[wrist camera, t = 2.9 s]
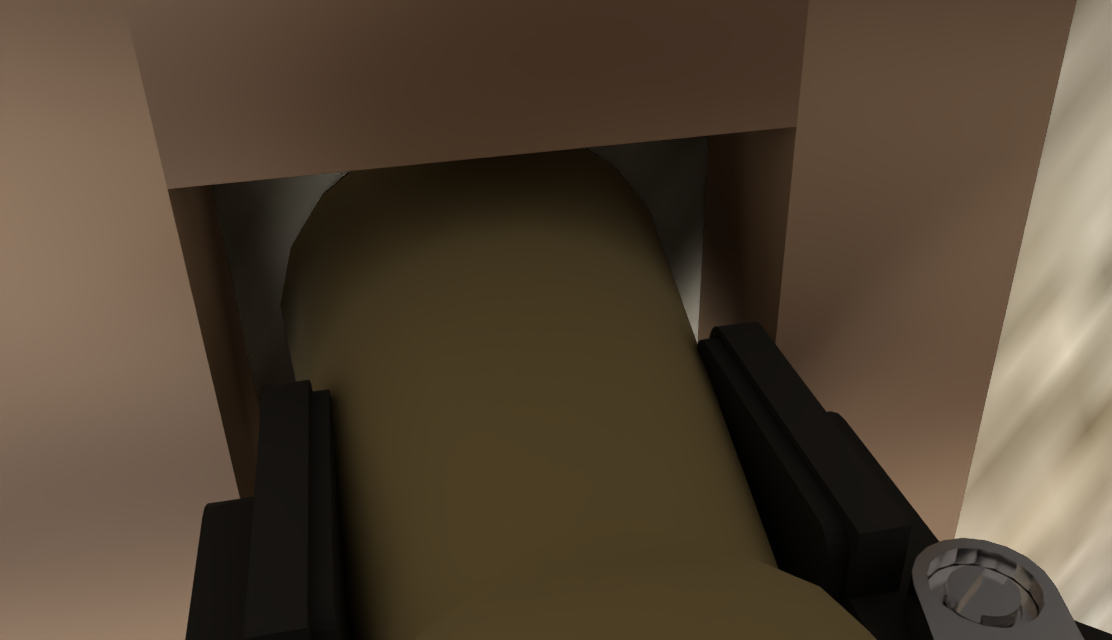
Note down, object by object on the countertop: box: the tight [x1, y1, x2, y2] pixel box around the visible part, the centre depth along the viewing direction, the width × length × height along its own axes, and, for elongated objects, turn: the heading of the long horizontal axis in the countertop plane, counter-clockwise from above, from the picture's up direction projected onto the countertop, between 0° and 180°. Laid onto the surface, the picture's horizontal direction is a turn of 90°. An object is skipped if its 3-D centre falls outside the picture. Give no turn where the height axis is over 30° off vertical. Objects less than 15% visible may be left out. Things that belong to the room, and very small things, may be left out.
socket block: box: [0, 0, 1076, 640], centre depth 15 cm, size 14×14×3 cm
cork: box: [280, 148, 877, 640], centre depth 11 cm, size 6×6×11 cm
